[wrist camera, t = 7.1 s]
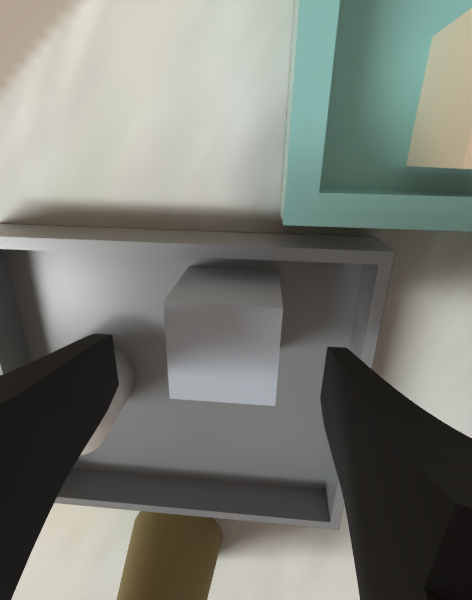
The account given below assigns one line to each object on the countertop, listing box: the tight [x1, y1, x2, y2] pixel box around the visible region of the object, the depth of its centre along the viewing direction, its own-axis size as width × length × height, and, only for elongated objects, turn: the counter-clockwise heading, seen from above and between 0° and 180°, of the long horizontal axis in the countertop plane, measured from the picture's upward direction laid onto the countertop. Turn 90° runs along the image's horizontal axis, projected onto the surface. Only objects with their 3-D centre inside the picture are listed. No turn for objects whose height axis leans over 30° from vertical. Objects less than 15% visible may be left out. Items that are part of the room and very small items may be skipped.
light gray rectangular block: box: [163, 267, 283, 406], centre depth 14 cm, size 4×4×4 cm
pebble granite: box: [81, 347, 135, 455], centre depth 16 cm, size 4×4×4 cm
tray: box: [0, 224, 395, 530], centre depth 17 cm, size 17×15×2 cm
